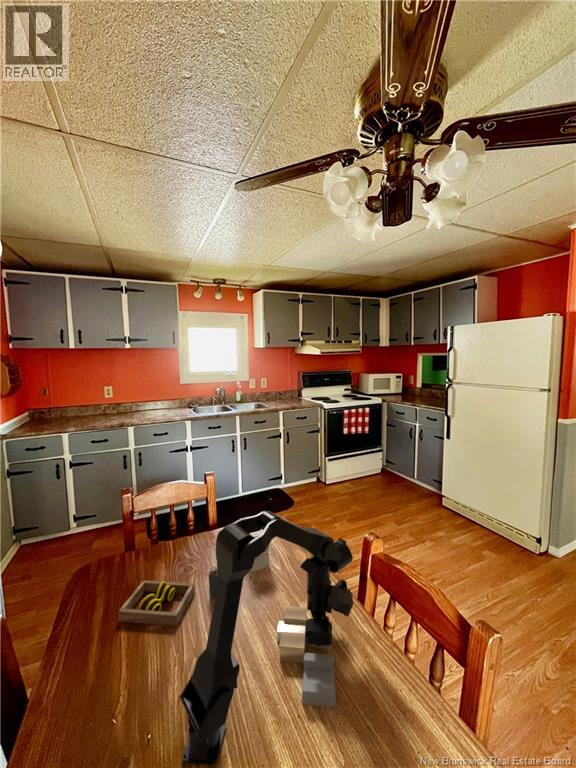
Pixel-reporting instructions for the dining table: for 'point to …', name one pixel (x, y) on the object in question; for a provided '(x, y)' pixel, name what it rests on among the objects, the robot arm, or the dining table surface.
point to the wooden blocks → (293, 636)
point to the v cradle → (318, 680)
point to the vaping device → (213, 580)
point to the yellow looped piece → (157, 598)
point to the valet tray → (156, 616)
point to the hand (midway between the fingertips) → (319, 637)
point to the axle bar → (294, 628)
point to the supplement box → (260, 556)
